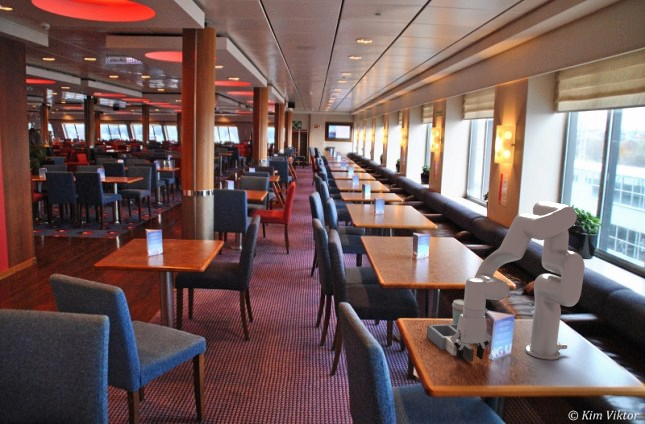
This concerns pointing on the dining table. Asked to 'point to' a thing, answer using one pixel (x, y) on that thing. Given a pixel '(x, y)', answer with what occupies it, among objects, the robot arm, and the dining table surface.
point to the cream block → (451, 348)
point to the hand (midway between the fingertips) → (469, 358)
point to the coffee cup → (457, 310)
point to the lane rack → (441, 333)
